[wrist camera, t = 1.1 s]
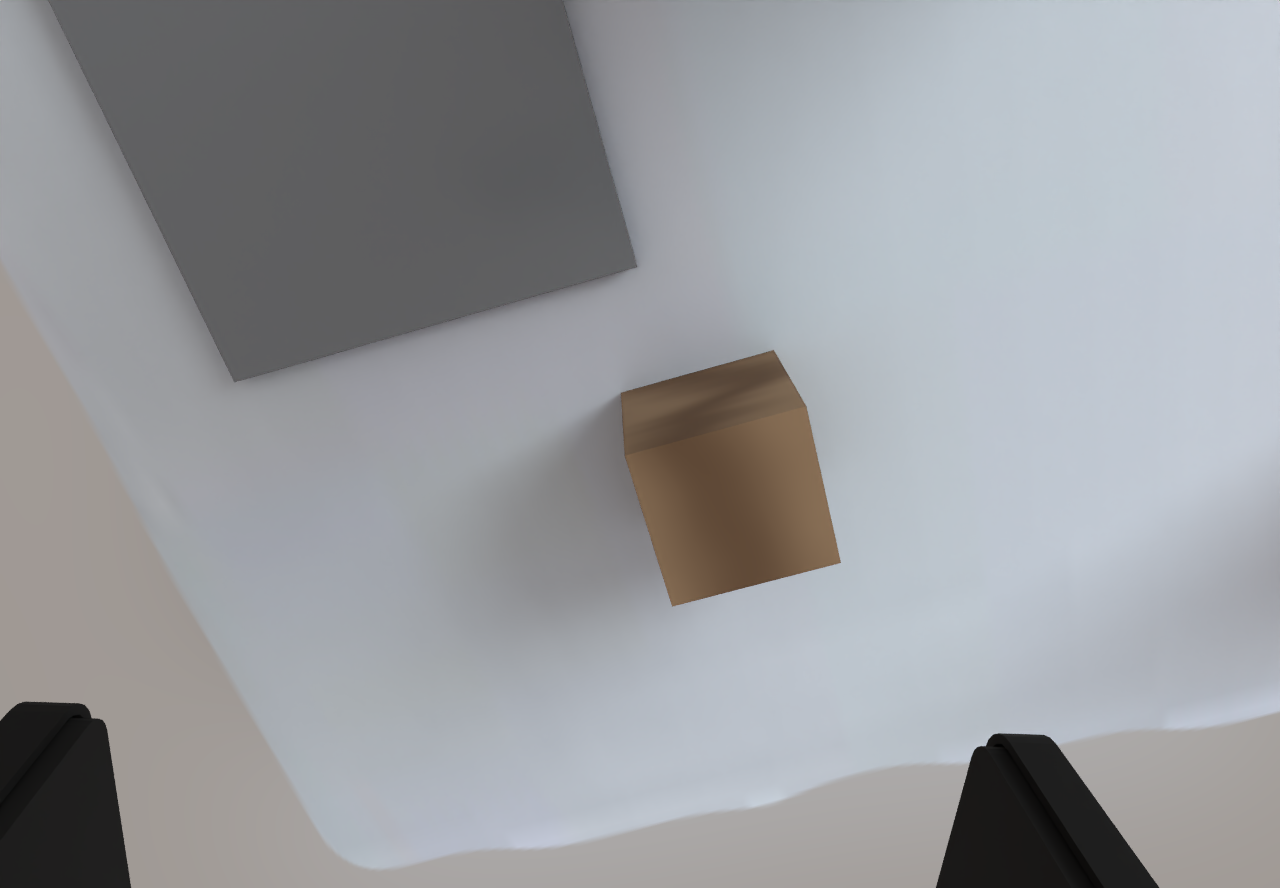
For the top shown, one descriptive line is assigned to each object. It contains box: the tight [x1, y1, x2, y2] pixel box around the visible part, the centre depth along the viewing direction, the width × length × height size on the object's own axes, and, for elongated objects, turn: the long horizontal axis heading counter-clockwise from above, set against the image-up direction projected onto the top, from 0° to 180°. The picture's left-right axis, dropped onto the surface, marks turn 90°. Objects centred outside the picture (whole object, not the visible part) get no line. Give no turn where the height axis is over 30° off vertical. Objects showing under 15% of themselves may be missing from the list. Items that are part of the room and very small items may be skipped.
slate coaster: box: [48, 0, 637, 382], centre depth 28 cm, size 14×14×1 cm
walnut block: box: [621, 350, 841, 606], centre depth 30 cm, size 6×6×6 cm
